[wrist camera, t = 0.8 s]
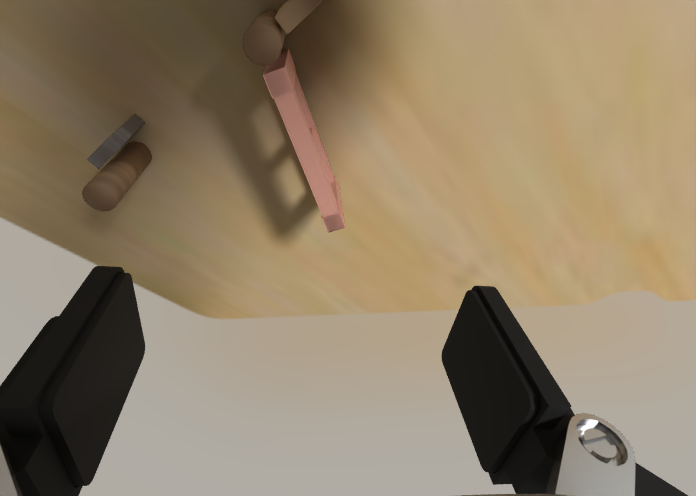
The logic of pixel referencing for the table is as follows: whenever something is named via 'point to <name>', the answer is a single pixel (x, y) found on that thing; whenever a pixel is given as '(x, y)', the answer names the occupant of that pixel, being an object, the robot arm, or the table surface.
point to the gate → (305, 138)
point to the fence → (134, 157)
